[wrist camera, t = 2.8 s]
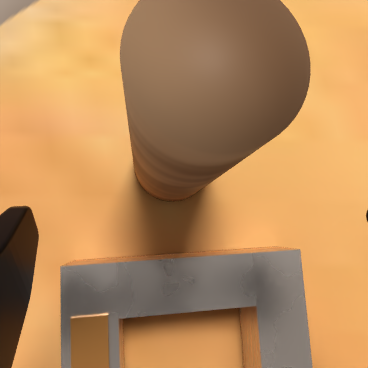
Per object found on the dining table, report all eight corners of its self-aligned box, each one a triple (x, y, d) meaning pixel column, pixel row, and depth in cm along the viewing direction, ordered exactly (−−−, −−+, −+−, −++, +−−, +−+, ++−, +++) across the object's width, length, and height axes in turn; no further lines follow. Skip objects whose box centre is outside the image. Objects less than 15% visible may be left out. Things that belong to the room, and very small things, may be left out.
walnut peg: (151, 213, 19) (166, 183, 7) (122, 143, 19) (89, 1, 7) (220, 184, 19) (341, 112, 8) (191, 117, 20) (262, -50, 8)
